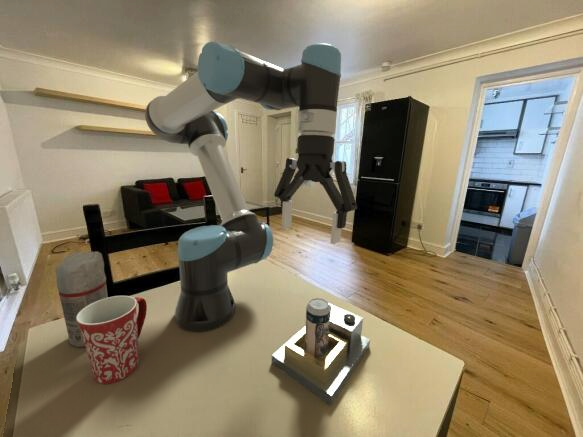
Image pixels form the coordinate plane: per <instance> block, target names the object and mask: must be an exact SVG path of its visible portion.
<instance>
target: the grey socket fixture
mask: <svg viewBox="0 0 583 437" xmlns="http://www.w3.org/2000/svg"><path fill="white" fill-rule="evenodd" d="M328 304H329V306H330V309H331V312H330V325H329V338H328V351H327V357H326V359H325V360H324V361H320V360H319V359H317V358H315V357H314V356H312V355H310V354H309V353H307V352H305V351H304V346H305V326H303V327H302V328H301V329H300V330H299V331H298V332H297V333H295V334H294V335H293V336H292V337H291V338H289V339H288V341H286V342H285V343H284V344H283V345H282V346H280V347H279V348H278V349H277V350H276V351H274V352H273V354H271V364H272V365H273V366H275V367H276V368H278V369H279V370H280V371H281V372H283V373H284V374H286V375H287V376H289V377H290V378H292V379H293V380H294V381H296V382H297V383H299V384H300V385H302V386H303V387H305V388H306V389H307V390H309V391H310V392H311V393H313V394H314V395H316V396H317V397H319V399H321V400H323V401H324V402H326V403H327V404H329V405H330V406H332V404H333V402H334V401H335V400H336V399H337V396H339V393H340V392H341V390H342V389H343V388H344V386H345V384H346V382H348V380H349V378H350V376H351V375H352V374H353V372H355V369H356V368H357V367H358V365H359V363H360V362H361V360H362V359H363V357H364V355H365V354H366V353H367V351H368V349H369V348H370V343H371V339H370V338H368V337H366V336H364V335H362V332H363V324H364V323H363V322H364V317H363V316H360V315H358V314H356V313H353V312H350V311H349V310H346V309H343V308H341V307H339V306H336V305H334V304H332V303H329V302H328Z"/></svg>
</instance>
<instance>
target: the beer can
mask: <svg viewBox="0 0 583 437" xmlns="http://www.w3.org/2000/svg"><path fill="white" fill-rule="evenodd" d="M328 303H329V302H328V301H327V300H325V299H323V298H318V297H316V298H312V299H310V300H309V301H308V303H307V305H306V306H305V307H306V309H305V312H306V313H305V326H304V327H305V346H304V351H305V352H307V353H309V354H310V355H312V356H314V357H315V358H317V359H319V360H320V361H324V360H325V359H326V357H327V351H328V338H329V325H330V312H331V309H330V306H329V304H328Z"/></svg>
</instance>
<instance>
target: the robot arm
mask: <svg viewBox="0 0 583 437" xmlns="http://www.w3.org/2000/svg"><path fill="white" fill-rule="evenodd" d="M197 60H198V61H197V71H196V72H195V73H194V74H192V75H190V77H188V78H187V79H185V80H184V81H183V82H181V83H179V85H178V86H176V87H175V88H174V89H173V90H171V91H170V92H169V93H167V94H166V95H159V96H156V97H155V98H154V97H153V99H152V100H150V101H149V103H148V104H147V105H146V108H145V110H144V111H145V113H144V117H145V122H146V124H147V127H148V128H149V130H150V131H151V132H152V133H153V134H155V136H156V137H158V138H160V139H161V140H163V141H165V142H168V143H172V144H179V145H180V144H181V145H187V146H188V148H189V150H190V152H191V154H192V155H193V156H194V157H197V158H198V161H199V163H200V165H201V170H202V171H203V174H204V176H205V180H206V182H207V185H208V187H209V191H210V192H211V195H212V198H213V201H214V203H215V205H216V206H215V207H216V208H217V211H218V214H219V216H220V219H221V223H220V225H216V224H215V225H214V224H211V225H202V226H197V227H194V228H191V229H189V230H188V231H185V232H184V233H182V235H180V237H179V239H178V240H177V241H178V243H177V258H178V268H179V281H180V282H179V283H180V293H179V297H178V300H177V305H176V307H175V312H174V313H175V316H174V317H175V322H176V324H177V326H178V327H180V328H181V329H183V330H185V331H189V332H205V331H211V330H214V329H216V328H219V327H222V326H223V325H225V324H227V323H228V322H229V321H230V320H231V319H232V318H233V317H234V315H235V311H236V307H235V306H236V305H235V304H236V303H235V302H236V301H235V298H234V297H233V294H232V292H231V290H230V287H229V283H228V280H229V279H228V274H229V273H231V272H233V271H236V270H238V269H239V270H240V269H241V268H244V267H246V266H249V265H253V264H258V263H259V262H261V261H263V260H266V259H267V258H268V257H269V256H270V255H271V253H272V252H273V251H272V250H273V246H274V235H273V231H272V229H271V227H270V226H269V225H268V224H267V223H265V222H262V221H259V219H258V216H257V215H256V213H254V212H252V211H250V210H249V207H248V205H247V202H246V199H245V198H244V196H243V193H242V190H241V187H240V185H239V183H238V180H237V178H236V175H235V172H234V171H233V168H232V166H231V163H230V161H229V158H228V155H227V153H226V151H225V147H226V144H227V141H228V137H229V133H228V131H229V129H228V124H227V122H226V120H225V117H224V116H223V115H222V114H221V113H220V112H218V111H215V110H217V109H219V108H221V107H223V106H225V105H227V104H229V103H232V102H234V101H235V100H240V99H241V100H244V101H245V100H246V101H250V102H254V103H258V104H259V105H261V107H263V108H264V109H266V110H268V111H272V110H273V111H274V110H275V111H281V110H287V109H291V108H298V114H299V115H298V130H297V131H298V133H300V135H298V136H297V144H296V145H297V146H296V152H297V154H298V157H297V158H296V157H295V158H294V157H293V158H292V157H287V158H286V160H285V167H284V170H283V172H282V174H281V177H280V179H279V182H278V185H277V187H276V188H275V191H274V192H273V193H274V197H275V198H278V199H279V200H280V214H281V229H282V230H286V229H289V228H292V222H293V221H292V220H293V219H292V218H293V203H294V202H293V200H292V198H293V196H294V195H295V194H296V192H297V191H298V189H299V188H300V187H301V186H302V184H303V183H304V182H314V183H319V184H320V185H321V186H322V187H323V189H324V191H326V192H325V193H326V194H327V196H328V197H329V199H330V201H331V202H332V205H333V206H334V209H335V210H336V211H334V212H332V220H331V221H332V225H331V233H330V244H331V245H335V244H338V243H340V242H341V239H342V238H341V236H342V229H344V228H345V227H346V225H347V216H348V213H349V212H351V211H355V210H357V209H358V204H357V202H356V198H355V195H354V192H353V189H352V186H351V182H350V180H349V177H348V174H347V162H346V161H345V160H337V161H333V155H334V151H335V138H334V137H333V135H335V134H336V126H337V111H338V102H339V100H338V98H339V92H340V91H339V90H340V82H341V77H342V74H341V72H342V70H341V69H342V66H341V65H342V54H341V51H340V50H339V48H337V47H335V46H334V45H332V44H329V43H313V44H310V45H307V46H306V47H305V49H303V51H302V55H301V59H300V62H301V64H299V65H295V66H292V67H288V68H282V67H279V66H278V65H275V64H273V63H270V62H267V61H266V60H263V59H261V58H257V57H255V56H253V55H250V54H249V53H245V52H243V51H241V50H239V49H237V48H235V47H234V46H232V45H227V44H224V43H220V42H218V41H213V40H212V41H208V42H206V43H205V44H204V45H203V46H202V48H201V52H200V54H199V55H198V58H197ZM296 169H298V170H297V171H296ZM331 171H333V173H334V176H335V179H336V183H337V186H338V187H337V186H336V184H335V182H334V179H333V177H332V175H331Z"/></svg>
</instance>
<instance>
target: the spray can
mask: <svg viewBox="0 0 583 437" xmlns="http://www.w3.org/2000/svg"><path fill="white" fill-rule="evenodd" d="M54 272H55V276H56V287H57V291H58V295H59V296H58V297H59V300H60V305H61V307H62V308H61V309H62V314H63V316H64V322H65V326H66V331H67V336H68V337H67V339H68V343H69V345H71V346H72V347H73V346H74V347H76V348H84V347H85V343H84V340H83V336H82V333H81V329H80V326H79V323H78V322H77V321H76V316H77V314H78V313H79V312H80V311H81V310H82V309H83V308H85V307H86V306H88V305H90V304H92V303H94V302H96V301H98V300H101V299H105V298H108V297H109V296H108V289H107V276H106V273H105V262H104V258H103V254H102V253H101V252H99V251H83V252H80V251H77V252H76V251H75V252H72V253H69V254H68V255H66V256H65V257H64V258H63V260H62V261H61V262H60V263H59V264H58V265H57V266H55V270H54ZM85 348H86V347H85Z"/></svg>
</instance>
